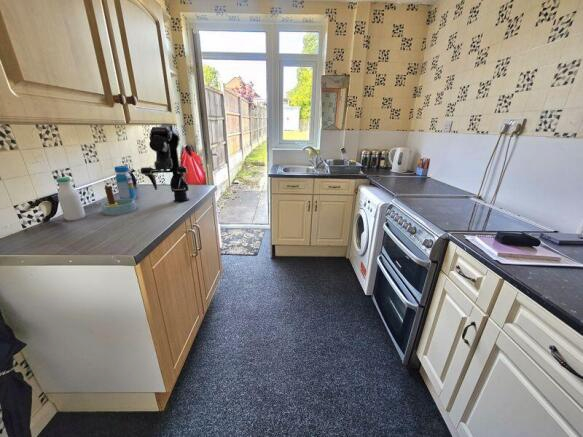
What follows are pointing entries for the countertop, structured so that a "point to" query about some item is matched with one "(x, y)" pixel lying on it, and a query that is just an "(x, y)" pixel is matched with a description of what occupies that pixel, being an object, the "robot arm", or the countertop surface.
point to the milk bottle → (69, 200)
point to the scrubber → (110, 196)
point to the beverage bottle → (124, 183)
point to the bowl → (119, 207)
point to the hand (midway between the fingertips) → (167, 189)
